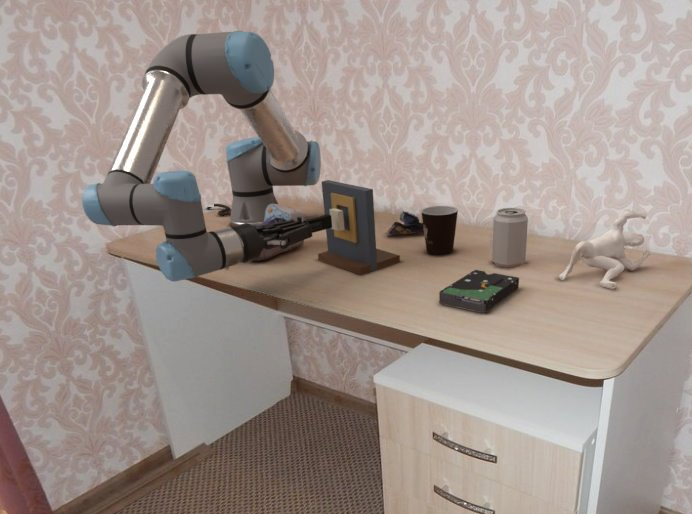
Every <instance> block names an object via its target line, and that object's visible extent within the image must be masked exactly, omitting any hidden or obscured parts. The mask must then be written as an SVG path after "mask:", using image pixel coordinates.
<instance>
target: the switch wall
mask: <svg viewBox="0 0 692 514" xmlns="http://www.w3.org/2000/svg"><path fill="white" fill-rule="evenodd" d="M321 189H322V191H321V192H322V202H323V212H324V213H323V214H324V215H326V214H328V215H330V211H329V209H333V208H335V209H339V210H343V218H344V230H342V231H337V230H334V229H331V228H329V229H325V232H326V243H327V250H325V251H322V252H319V253H317V258H318V261H320V262H323V263H325V264H329V265H331V266H334V267H336V268H340V269H343V270H346V271H347V272H350V273H352V274H353V273H354V274H355V275H359V276H363V275H365V274H368V273H371V272H374V271H378V270H379V269H382V268H386V267H389V266H392V265H396V264H398V263H400V262H401V255H399V254H396V253H393V252H390V251H386V250H383V249H380V248H377V239H376V238H377V237H376V220H375V205H374V204H375V203H374V189H373V188H368V187H364V186H360V185H353V184H349V183H344V182H340V181H335V180H329V179H326V180H322V181H321Z"/></svg>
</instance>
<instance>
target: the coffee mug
mask: <svg viewBox="0 0 692 514" xmlns="http://www.w3.org/2000/svg"><path fill="white" fill-rule="evenodd" d="M420 213H421V221H422V223H423V228H424V230H423V237H424V242H425V249H426V254H427V255H430V256H435V257H437V256H438V257H443V256H449V255H451V254H452V253H454V245H455V237H456V229H457V222H458V215H459V214H458V213H459V209H458V208H457V207H454V206H451V205H434V206H433V205H432V206H427V207H424V208H422V209H421V210H420Z"/></svg>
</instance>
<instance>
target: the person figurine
mask: <svg viewBox="0 0 692 514" xmlns="http://www.w3.org/2000/svg"><path fill="white" fill-rule="evenodd" d="M647 215H648V213H646V211H644V212H636V211H631V210H626V211H623V212H622V213H621V215H620V216H619V217H618V218H616V220H614V222H613V223H612V227H611V228H610V229H609V230H608V231H607V232H605V233H603V234H601V235H599V236H597V237H594V238H591V239H590V240H582V241H579V243H577V244H576V245H575V247H574V250H573V251H572V253H571V257H570V262H569V264H568V265H567V267H566V268H565V270H564V271H563V272H562V273H560V274H559V279H560V280H561V281H565V280H566V279H567V278H568V276H569V274H571V273H572V271H573V269H574V266H576V264H578V262H579V261H581V260H582V259H583V262H584V264H585V265H586V266H588V267H589V268H596V269H600V270H604V271H606V273H605V274H604V276H603V278H602V279H601V281H599V282H598V285H599V286H600V287H603V288H605V289H608V290H609V289H610V290H615V288H617V286H618V283H617V282H615V281H611V280H613V279H615V278H617V277H618V276H619V274H621V273H622V272H623V271H624V270H625V269H627V270H629V271H630V272H633V271H634V270H636V269H638V268H639V267H641V264H642V263H643V262H644V261H645V260H646V259H647V258H648V257H650V256H651V255H652V252H651V251H650V250H648V249H646V250H645V251H644V252H643V255H642V256H641V258H639V259H637V260H636V261H634V262H632V261H631V259H629V258H627V254H626V252H625V247H627V246H628V247H631V248H633V247H639V246H642V245H644V243H645V237H644V236H643V235H642V234H641V233H631V235H629V236H625V235H624V234H623V233H624V226H625V225H626V223H627V222H628V220H630V219H639V218H641V219H643V220H645V219H646V218H647Z"/></svg>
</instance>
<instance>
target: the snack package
mask: <svg viewBox="0 0 692 514" xmlns="http://www.w3.org/2000/svg"><path fill="white" fill-rule="evenodd" d="M398 219H399V221H400V222H399V221H394V222H393V224H392V225H391V227H390V228H388V230H387V232H385V235H386V237H389V236H390V235H411V234H416V233H419V232H421V231H424V228H423V222H420V219H419V217H418V216H417V215H415V214H413V213H409V211H405V210H402V211H401V213H400V214H399V218H398Z"/></svg>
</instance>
